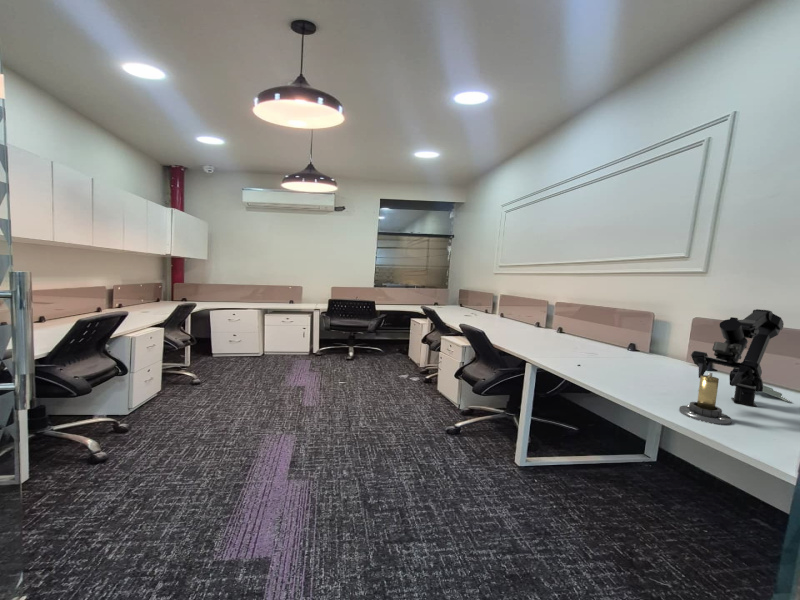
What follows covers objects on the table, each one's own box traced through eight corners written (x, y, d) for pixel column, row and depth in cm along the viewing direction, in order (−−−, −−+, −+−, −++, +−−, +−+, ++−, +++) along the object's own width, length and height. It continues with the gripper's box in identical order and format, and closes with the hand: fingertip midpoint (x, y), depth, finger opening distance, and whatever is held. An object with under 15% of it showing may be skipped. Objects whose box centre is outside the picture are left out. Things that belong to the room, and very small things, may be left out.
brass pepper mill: (693, 409, 127) (698, 370, 126) (708, 411, 126) (713, 372, 125) (701, 414, 123) (706, 374, 121) (717, 416, 122) (722, 375, 120)
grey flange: (677, 405, 134) (678, 396, 134) (727, 415, 126) (728, 405, 126) (680, 416, 123) (681, 406, 123) (735, 428, 115) (736, 418, 115)
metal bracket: (756, 384, 148) (740, 376, 161) (749, 397, 149) (734, 387, 162) (800, 401, 142) (780, 390, 155) (792, 413, 143) (773, 402, 157)
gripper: (696, 329, 135) (678, 360, 131) (763, 339, 119) (745, 374, 114) (703, 348, 139) (686, 378, 135) (769, 360, 123) (751, 395, 119)
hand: (715, 381), depth 126 cm, fingers open, 9 cm apart
